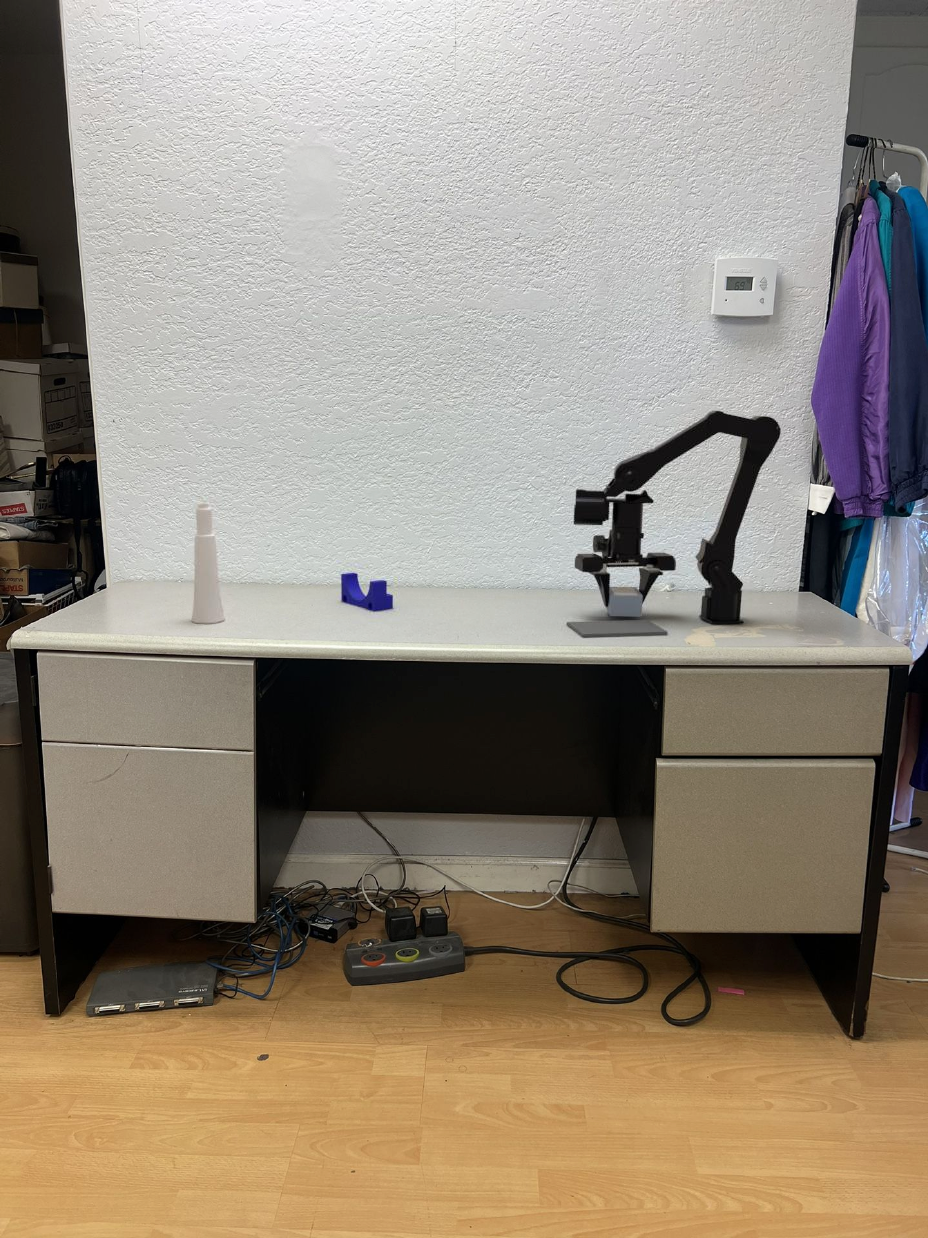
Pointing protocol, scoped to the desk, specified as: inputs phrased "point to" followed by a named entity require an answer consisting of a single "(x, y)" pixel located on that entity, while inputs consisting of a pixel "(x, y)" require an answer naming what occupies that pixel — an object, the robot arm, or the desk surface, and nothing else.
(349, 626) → the desk surface
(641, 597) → the card deck
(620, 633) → the mat
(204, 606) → the cosmetic bottle
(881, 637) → the desk surface
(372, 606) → the cable clip
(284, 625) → the desk surface
